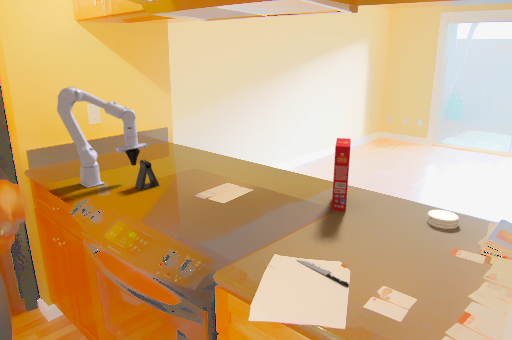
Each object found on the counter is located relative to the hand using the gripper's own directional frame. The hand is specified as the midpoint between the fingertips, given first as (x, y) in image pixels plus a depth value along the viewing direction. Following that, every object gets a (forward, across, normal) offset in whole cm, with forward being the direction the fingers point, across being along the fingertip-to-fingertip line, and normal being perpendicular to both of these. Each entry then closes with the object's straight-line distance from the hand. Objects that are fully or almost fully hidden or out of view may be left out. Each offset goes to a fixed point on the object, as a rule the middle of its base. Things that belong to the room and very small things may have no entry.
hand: (133, 164), depth 175 cm
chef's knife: (+8, -4, -108) cm, 108 cm away
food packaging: (+8, +42, -85) cm, 95 cm away
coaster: (+8, +51, -121) cm, 132 cm away
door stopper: (+8, 0, -11) cm, 14 cm away
